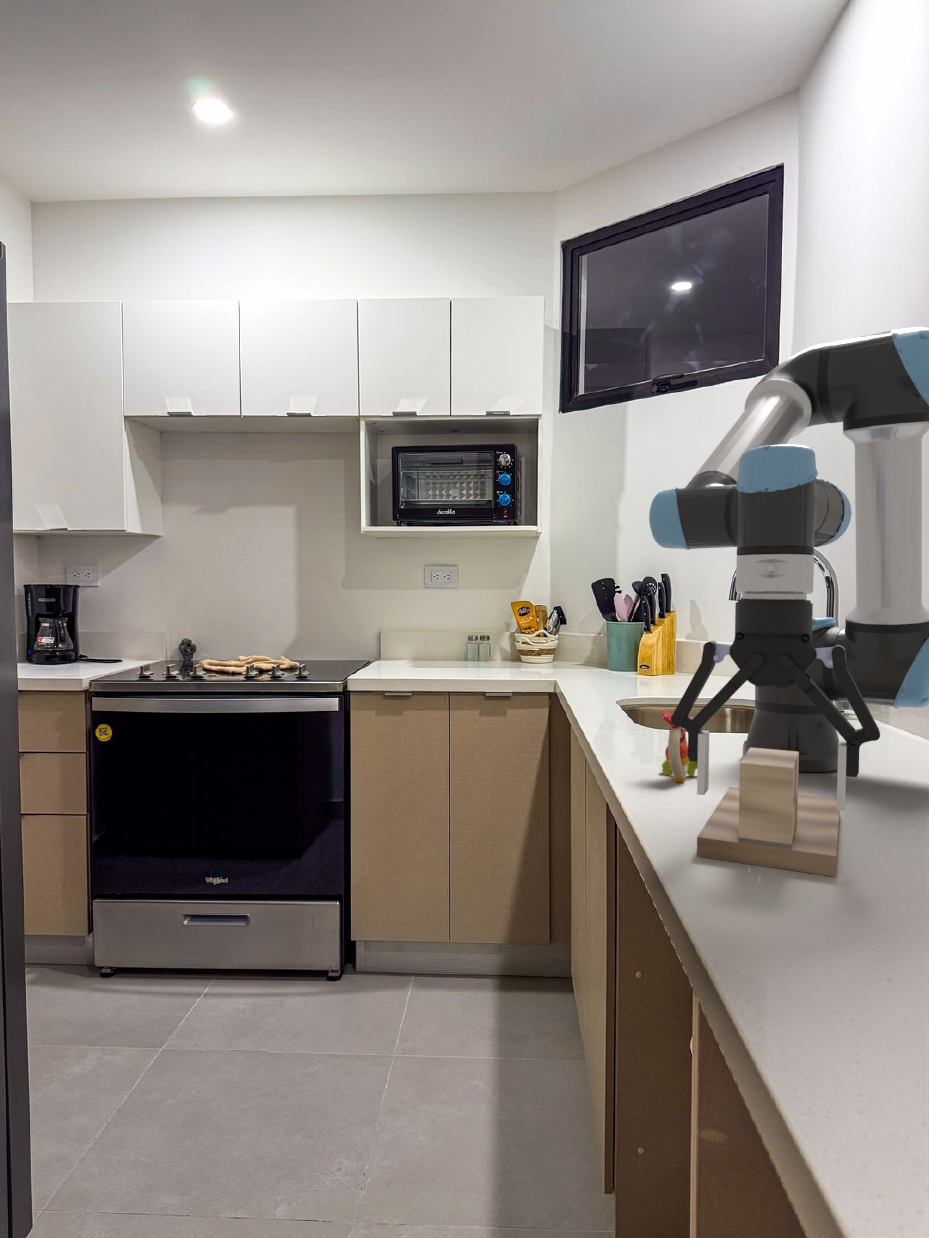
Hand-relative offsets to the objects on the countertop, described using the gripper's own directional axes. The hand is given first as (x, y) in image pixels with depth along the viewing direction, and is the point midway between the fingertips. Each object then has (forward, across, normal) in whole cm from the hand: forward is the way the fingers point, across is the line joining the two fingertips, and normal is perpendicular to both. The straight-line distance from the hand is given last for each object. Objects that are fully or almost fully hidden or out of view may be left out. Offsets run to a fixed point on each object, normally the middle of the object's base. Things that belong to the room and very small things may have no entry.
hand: (769, 799), depth 84 cm
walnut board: (+5, 0, +7) cm, 9 cm away
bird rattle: (+6, -15, +30) cm, 34 cm away
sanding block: (+3, 0, 0) cm, 4 cm away
